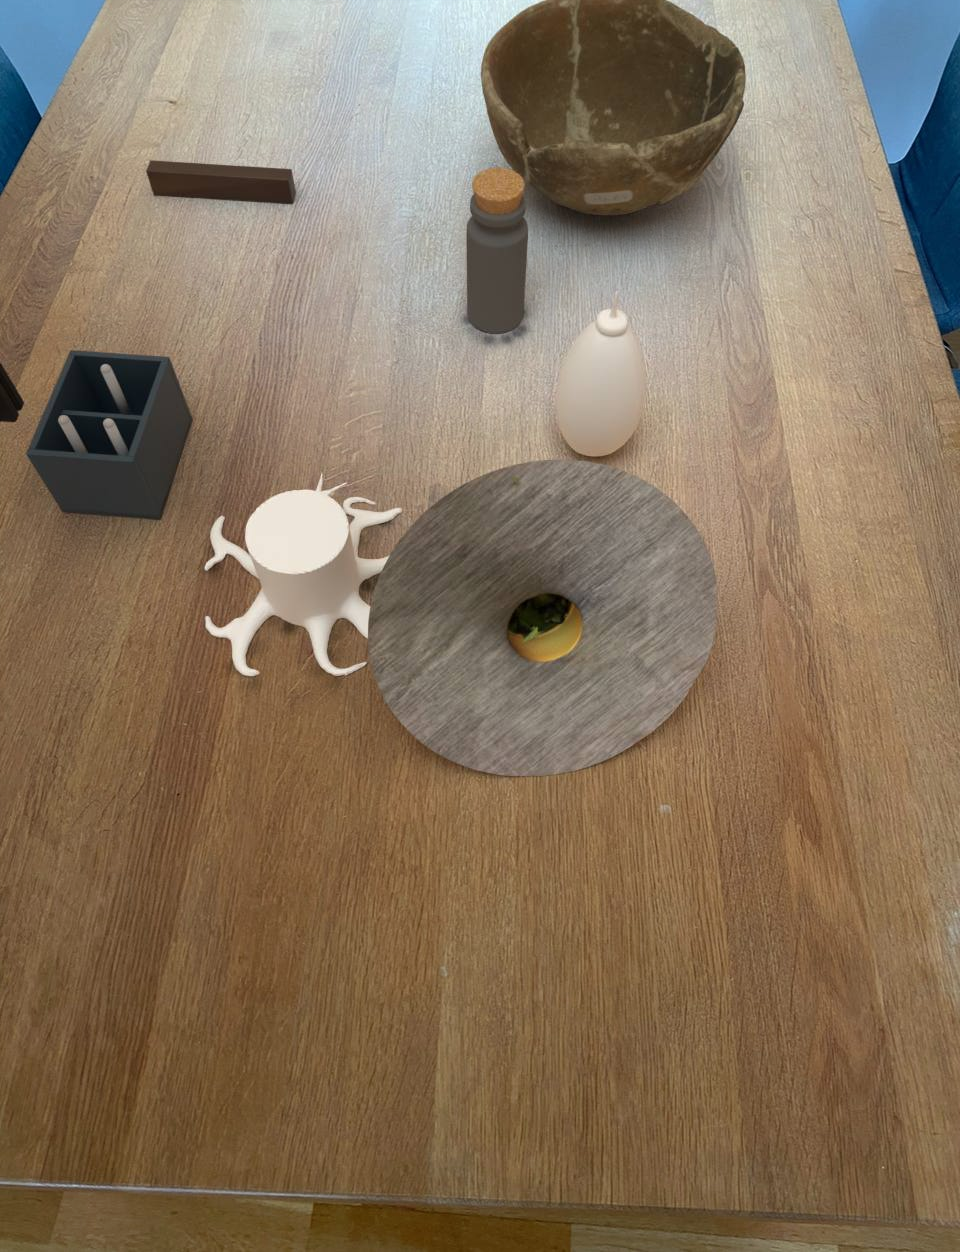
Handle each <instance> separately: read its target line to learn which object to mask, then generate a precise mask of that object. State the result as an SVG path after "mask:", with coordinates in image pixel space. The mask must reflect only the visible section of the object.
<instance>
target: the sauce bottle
mask: <svg viewBox="0 0 960 1252" xmlns="http://www.w3.org/2000/svg"><path fill="white" fill-rule="evenodd" d="M618 305H619V291H617V290H616V291H615V293H614V295H613V299H612V303H611V308H606V309H603V310H601V311H599V312H598V314H597V316H596V317H595V320H593V321H592V322H590V324H588V325H587V326H585V328H584V329H583V330H582V331H581V332H580V333H579V334H578V336H577V337H576V338H575V340H574V341H573V343H572V344H571V346H570V348H569V349H568V351H567V354H566V356H565V358H564V360H563V362H562V365H561V367H560V370H559V374H558V377H557V382H556V387H555V394H554V395H555V396H554V405H555V408H554V409H555V418H556V420H557V421H556V422H557V425H558V428H559V431H560V433H561V435H562V437H563V439H564V440H565V442H566V443H567V444H568V446H569V447H570V448H571V449H572V450H573V451H574V452H576V453H578V454H580V455H582V456H587V457H604V456H607V455H610V454H612V453H614V452H616V451H618V450H619V449H620V448H621V447H623V446H624V445H625V444H626V443H627V442H628V441H629V440H630V438H631V437H632V435H634V432H635V431H636V429H637V427H638V425H639V423H640V420H641V418H642V415H643V411H644V407H645V400H646V395H647V394H646V393H647V392H646V391H647V378H646V377H647V375H646V366H645V361H644V356H643V352H642V349H641V347H640V343H639V341H638V338H637V336H636V334H635V332H634V331H633V329H632V328H631V326H630V325H629V318H628V316H627V315H626V313H625V312H624V311H622V310H620V309H618Z"/></svg>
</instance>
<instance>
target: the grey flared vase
mask: <svg viewBox="0 0 960 1252" xmlns="http://www.w3.org/2000/svg"><path fill="white" fill-rule="evenodd" d="M389 555H390V556H389ZM389 555H388V556H389V558H388V560H387V561H386V563H385V565H384V567H383V569H382V572H381V573H379V576H378V579H377V581H376V584H375V587H374V591H373V594H372V598H371V601H370V605H369V606H370V612H369V620H368V639H367V645H368V655H369V660H370V664H371V668H372V672H373V675H374V679H375V681H376V684H377V686H378V689H379V691H380V694H381V695H382V697H383V699H384V701H385V703H386V704H387V706H388V707H389V709H390V710H391V712H392V714H393V715H394V716H395V717H396V719H397V720H398V721H399V722H400V724H401V725H402V726H403V727H404V728H405V729H406V730H407V731H408V732H409V734H411V735H412V736H413V737H414V738H415V739H416V740H417V741H419V743H421V744H423V746H425V747H426V748H428V749H429V750H431V751H433V752H434V753H435V754H437V755H439V756H441V757H443V758H445V759H447V760H449V761H450V762H453V763H456V764H458V765H460V766H463V767H466V768H468V769H471V770H475V771H477V772H478V771H479V772H482V773H487V774H491V775H497V776H506V777H507V776H510V777H546V776H554V775H560V774H565V773H570V772H571V773H572V772H573V771H574V772H575V771H578V770H582V769H586V768H589V767H591V766H594V765H598V764H600V763H602V762H605V761H607V760H609V759H611V758H614V757H616V756H617V755H619V754H621V753H622V752H624V751H625V750H628V749H629V748H631V747H632V746H634V745H635V744H636V743H638V742H640V741H641V740H642V739H644V738H646V737H647V736H649V735H650V734H652V733H653V732H655V730H656V729H657V728H658V727H660V726H661V725H662V724H663V723H664V722H665V721H667V719H668V718H669V717H670V716H671V715H672V714H673V713H674V712H675V710H676V709H678V707H679V705H680V704H681V703H682V702H683V701H684V699H685V698H686V697H687V696H688V694H689V691H690V690H691V688H692V686H693V684H694V683H695V681H696V679H697V678H698V676H699V675H700V674H701V672H702V670H703V668H704V666H705V665H706V663H707V661H708V658H709V657H710V653H711V650H712V647H713V643H714V638H715V634H716V629H717V617H718V606H719V591H718V581H717V576H716V570H715V566H714V562H713V559H712V557H711V554H710V552H709V549H708V547H707V544H706V542H705V540H704V539H703V537H702V535H701V533H700V532H699V530H698V528H697V527H696V525H695V524H694V523H693V521H692V520H691V519H690V517H689V516H688V515H687V514H686V512H684V510H683V509H682V508H681V507H680V506H679V505H678V504H677V503H676V502H675V501H674V500H673V499H672V498H670V497H669V496H668V495H667V494H666V493H664V492H663V491H662V490H660V489H659V488H658V487H656V486H654V485H653V484H651V483H650V482H648V481H647V480H644V479H642V478H640V477H638V476H637V475H634V474H633V473H630V472H628V471H625V470H623V469H620V468H617V467H613V466H610V465H606V464H603V463H598V462H593V461H587V460H579V459H577V460H576V459H541V460H533V461H527V462H521V463H517V464H512V465H509V466H505V467H502V468H497V469H495V470H493V471H490V472H488V473H485V474H482V475H480V476H477V477H475V478H473V479H471V480H469V481H467V482H465V483H463V484H462V485H460V486H458V487H456V488H455V489H453V490H452V491H450V492H449V493H447V494H446V495H444V496H443V497H442V498H440V499H439V500H438V501H436V502H435V503H433V505H431V506H430V507H429V508H428V509H426V511H424V512H423V513H422V514H421V515H420V516H419V517H418V518H417V519H416V520H415V521H414V522H413V523H412V524H411V525H410V527H409V528H408V529H407V530H406V531H405V533H404V534H403V535H402V536H401V538H399V540H398V542H397V543H396V544H395V546H394V548H393V550H392V551H391V552H390V554H389Z"/></svg>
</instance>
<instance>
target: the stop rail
mask: <svg viewBox="0 0 960 1252" xmlns="http://www.w3.org/2000/svg"><path fill="white" fill-rule="evenodd" d="M145 174H146V175H147V178H148V181H149V182H148V183H149V185H150V187H151V190H152V194H153V196H163V197H164V196H165V197H179V198H192V199H193V198H194V199H207V200H209V199H210V200H211V199H212V200H225V201H241V202H255V203H256V202H257V203H271V204H272V203H273V204H274V203H275V204H288V205H289V204H290V205H292V204H294V201H295V199H296V194H297V191H296V186H295V185H296V184H295V179H294V175H293V170H292V168H280V167H265V166H249V165H247V166H246V165H233V164H217V163H216V164H215V163H199V162H186V161H185V162H184V161H170V160H169V161H167V160H154V159H153V160H150V161H149V163H148V165H147V168H146V171H145Z"/></svg>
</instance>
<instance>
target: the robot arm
mask: <svg viewBox="0 0 960 1252" xmlns="http://www.w3.org/2000/svg"><path fill="white" fill-rule="evenodd" d="M24 405H25V401H24V399H23V398H22V396H21V395H20V393H19V390H18V389H17V388H16V386H15V384H14V383H13V381H12V379H11V378H10V376H9V374H8V372H7V370H6V369H5V367H4V366H3V364H2V363H1V362H0V422H4V423H16V422H17V421H18V418H19V416H20V413H19V411H22V409H23V408H24Z"/></svg>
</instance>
